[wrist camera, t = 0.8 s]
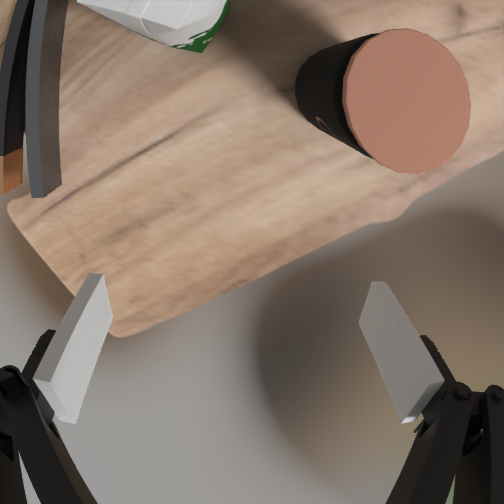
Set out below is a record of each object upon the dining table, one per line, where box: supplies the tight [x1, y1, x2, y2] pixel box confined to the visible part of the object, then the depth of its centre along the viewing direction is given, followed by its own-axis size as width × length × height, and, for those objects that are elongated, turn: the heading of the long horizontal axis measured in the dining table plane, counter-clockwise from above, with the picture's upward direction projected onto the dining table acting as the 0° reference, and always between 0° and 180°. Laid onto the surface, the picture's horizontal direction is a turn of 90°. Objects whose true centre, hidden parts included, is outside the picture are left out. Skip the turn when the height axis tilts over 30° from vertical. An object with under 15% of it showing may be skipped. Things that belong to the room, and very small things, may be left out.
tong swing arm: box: [0, 0, 35, 195], centre depth 27 cm, size 27×2×5 cm, turn 165°
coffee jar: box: [295, 29, 471, 174], centre depth 25 cm, size 11×11×18 cm
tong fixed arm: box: [26, 0, 68, 198], centre depth 26 cm, size 32×4×5 cm, turn 174°
